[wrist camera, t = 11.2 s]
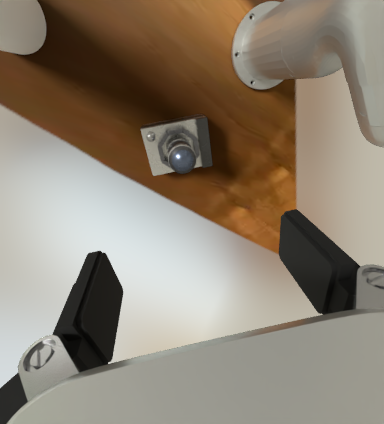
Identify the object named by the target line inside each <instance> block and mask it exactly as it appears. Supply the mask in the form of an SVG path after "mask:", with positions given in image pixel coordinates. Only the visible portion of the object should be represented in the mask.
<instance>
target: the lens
mask: <svg viewBox="0 0 384 424" xmlns="http://www.w3.org/2000/svg"><path fill="white" fill-rule="evenodd" d="M167 154H168V163H169V166H170V167H171V169H172V170H173V171H175V172H177V173H181V174H184V173H188V172H190V171H191V170H192V169H193V168H194V166H195V164H196V159H197V158H196V154H195V152H194V150H193V149H192V147H191V145H190V144H189V142H188V140H187V139H186V138H184V137H182V136H175V137H173V138H171V139H170V140H169V142H168V144H167Z"/></svg>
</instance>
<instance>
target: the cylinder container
mask: <svg viewBox="0 0 384 424" xmlns="http://www.w3.org/2000/svg"><path fill="white" fill-rule="evenodd" d="M45 38H46V21H45V17H44V14H43V11H42V9H41V6H40V5H39V3H38V1H37V0H0V50H2V51H6V52H11V53H16V54H21V55H27V54H32V53H34V52H36V51H38V50H39V49H40V48H41V46H42V45H43V43H44V41H45Z"/></svg>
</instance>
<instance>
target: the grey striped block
mask: <svg viewBox="0 0 384 424" xmlns="http://www.w3.org/2000/svg"><path fill="white" fill-rule="evenodd" d="M141 133H142V137H143V140H144V144H145V148H146V152H147V155H148V159H149V163H150V166H151V170H152V174H153V176H156V175H161V174H166V173H171V172H175V171H173V170H172V169H171V167H170V166H169V163H168V154H167V144H168V142H169V140H170V139H171V138H173V137H175V136H182V137H184V138H186V139H187V140H188V142H189V144H190V145H191V147H192V149H193V150H194V152H195V154H196V158H197V159H196V164H195V166H194V168H195V167H200V166H202V167H203V168H204V167H209V166H213V165H212V156H211V147H210V139H209V130H208V121H207V117H206V116H205V115H203V114H196V115H191V116H186V117H181V118H176V119H170V120H165V121H160V122H155V123H150V124H145V125H142V126H141Z"/></svg>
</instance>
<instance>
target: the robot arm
mask: <svg viewBox="0 0 384 424" xmlns="http://www.w3.org/2000/svg"><path fill="white" fill-rule="evenodd" d="M250 16H251V20H250V18H249V17H250ZM235 54H237V57H236V56H235ZM232 63H233V67H234V70H235V73H236V74H237V76H238V78H239V79H240V80H241V81H242V82H243V83H244V84H245V85H247V86H248V87H251V88H253V89H269V88H272V87H274V86H276V85H278V84H279V83H281V82H282V81H283V80H284V79H301V78H302V79H303V78H319V77H324V76H327V75H330V74H332V73H334V72H336V71H338V70H339V69H341V68H342V67H343V70H344V73H345V77H346V81H347V83H348V85H349V89H350V93H351V97H352V101H353V105H354V109H355V113H356V116H357V120H358V123H359V127H360V129H361V132H362V134H363V135H364V137H365V138H366V139H367V140H368V141H369V142H370V143H372V144H374V145H376V146H379V147H383V148H384V0H285V1H284V2H282V3H281V2H276V1H269V2H265V3H262V4H260V5H258V6H256V7H255V8H253V9H252V10H251V11H249V12H248V13H247V15H246V16H245V17H244V18H243V19H242V21H241V22H240V24H239V25H238V28H237V30H236V32H235V35H234V38H233V43H232ZM251 81H252V84H251ZM279 256H280V259H281V260H282V262H283V263H284V265H285V266H286V268H287V269H288V270H289V272H290V273H291V275H292V276H293V278H294V279H295V281H296V282H297V283H298V285H299V286H300V288H301V289H302V291H303V292H304V293H305V295H306V296H307V298H308V299H309V301H310V302H311V303H312V305H313V306H314V308H315V309H316V311H317V312H318V313H320V314H321V313H322V314H323V315H320V316H316V317H311V318H306V319H301V320H297V321H292V322H288V323H283V324H279V325H274V326H270V327H265V328H261V329H256V330H252V331H247V332H243V333H238V334H234V335H230V336H225V337H221V338H217V339H212V340H208V341H203V342H199V343H195V344H190V345H186V346H182V347H177V348H174V349H169V350H165V351H160V352H156V353H152V354H148V355H143V356H139V357H135V358H131V359H127V360H123V361H119V362H115V363H111V364H108V362H110V361H111V360H112V357H113V351H114V345H115V339H116V332H117V327H118V321H119V315H120V309H121V303H122V297H123V289H122V286H121V284H120V282H119V280H118V278H117V276H116V274H115V272H114V270H113V268H112V265H111V263H110V261H109V259H108V257H107V255H106V254H105V253H102V252H101V251H97V252H92V253H89V254H88V255H87V257H86V259H85V262H84V264H83V266H82V269H81V271H80V274H79V276H78V278H77V281H76V283H75V284H74V285H73V287H72V289H71V292H70V294H69V296H68V299H67V301H66V304H65V306H64V308H63V311H62V313H61V315H60V318H59V320H58V323H57V325H56V327H55V330H54V332H53V335H49V336H45V337H43V338H40V339H39V340H38V341H36V342H34V343H33V344H32V345H31V346H30V347H29V348H28V349H27V350H26V351H25V353H24V354H23V356H22V357H21V360H20V362H19V365H18V373H17V374H16V375H15V376H14V377H13V378H12V379H11V380H9V381H8V382H7V383H6V384H5V385H4V386H2V387H1V388H0V424H384V267H382V266H377V265H364V266H361V267H360V266H359V265H358V264H357V263H356V262H355V261H354V260H353V259H352V258H351V257H349V256H348V255H347V254H346V253H345V252H344V251H343V250H341V248H339V247H338V246H337V245H336V244H335V243H334V242H333V241H332V240H330V239H329V238H328V237H327V236H326V235H325V234H324V233H323V232H321V231H320V230H319V229H318V228H317V227H316V226H315V225H314V224H313V223H311V222H310V221H309V220H308V219H307V218H306V217H305V216H304V215H303V214H302V213H300V212H299V211H298V210H296V209H295V210H291V211H286V212H285V213H284V215H282V216H281V227H280V244H279Z"/></svg>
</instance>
